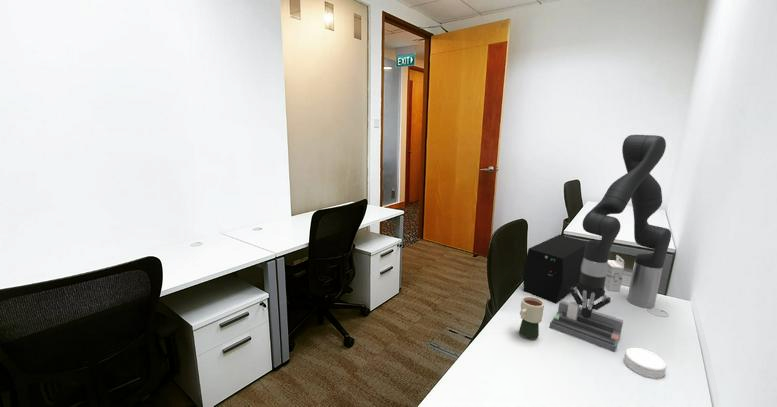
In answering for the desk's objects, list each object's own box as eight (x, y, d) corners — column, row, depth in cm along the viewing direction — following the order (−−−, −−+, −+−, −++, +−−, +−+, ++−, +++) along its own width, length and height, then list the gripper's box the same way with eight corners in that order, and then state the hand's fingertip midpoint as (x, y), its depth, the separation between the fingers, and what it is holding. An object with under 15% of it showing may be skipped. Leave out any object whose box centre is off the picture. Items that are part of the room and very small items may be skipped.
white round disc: (647, 356, 107) (649, 346, 106) (673, 379, 97) (675, 369, 96) (616, 356, 107) (617, 346, 106) (639, 379, 97) (641, 368, 96)
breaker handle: (568, 317, 123) (570, 300, 122) (577, 320, 122) (579, 303, 120) (565, 321, 121) (568, 303, 120) (575, 324, 119) (577, 306, 118)
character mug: (528, 325, 122) (533, 292, 119) (547, 335, 116) (552, 301, 113) (509, 335, 116) (513, 300, 113) (527, 346, 110) (532, 310, 107)
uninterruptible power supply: (587, 282, 158) (594, 242, 154) (557, 306, 136) (564, 260, 132) (551, 271, 170) (557, 233, 165) (519, 291, 148) (524, 248, 143)
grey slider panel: (558, 314, 130) (560, 300, 129) (620, 335, 117) (623, 320, 116) (549, 327, 121) (551, 312, 120) (614, 352, 108) (618, 335, 107)
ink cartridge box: (600, 282, 159) (605, 253, 155) (611, 283, 158) (617, 254, 154) (607, 290, 150) (613, 260, 147) (620, 292, 149) (626, 261, 146)
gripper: (618, 273, 113) (609, 320, 117) (574, 263, 121) (567, 306, 125) (614, 281, 107) (605, 329, 111) (569, 269, 116) (562, 314, 119)
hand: (585, 317), depth 118 cm, fingers closed
